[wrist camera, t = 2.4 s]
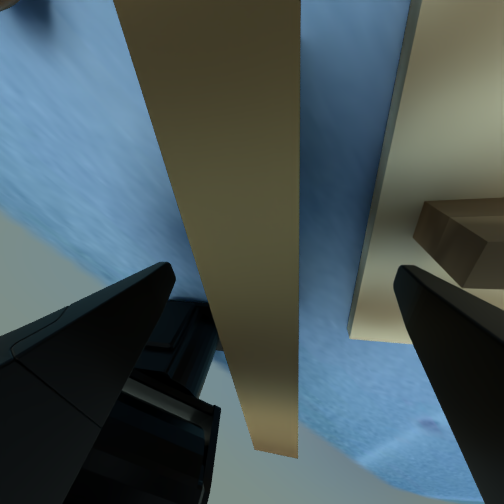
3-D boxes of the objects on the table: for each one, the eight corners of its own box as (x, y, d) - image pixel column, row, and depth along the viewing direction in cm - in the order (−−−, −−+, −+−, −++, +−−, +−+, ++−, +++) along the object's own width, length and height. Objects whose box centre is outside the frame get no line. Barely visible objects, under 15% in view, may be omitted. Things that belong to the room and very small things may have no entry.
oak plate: (297, 308, 17) (297, 458, 9) (273, 306, 17) (254, 449, 10) (297, 34, 8) (304, -617, 1) (250, 45, 9) (1, -350, 1)
